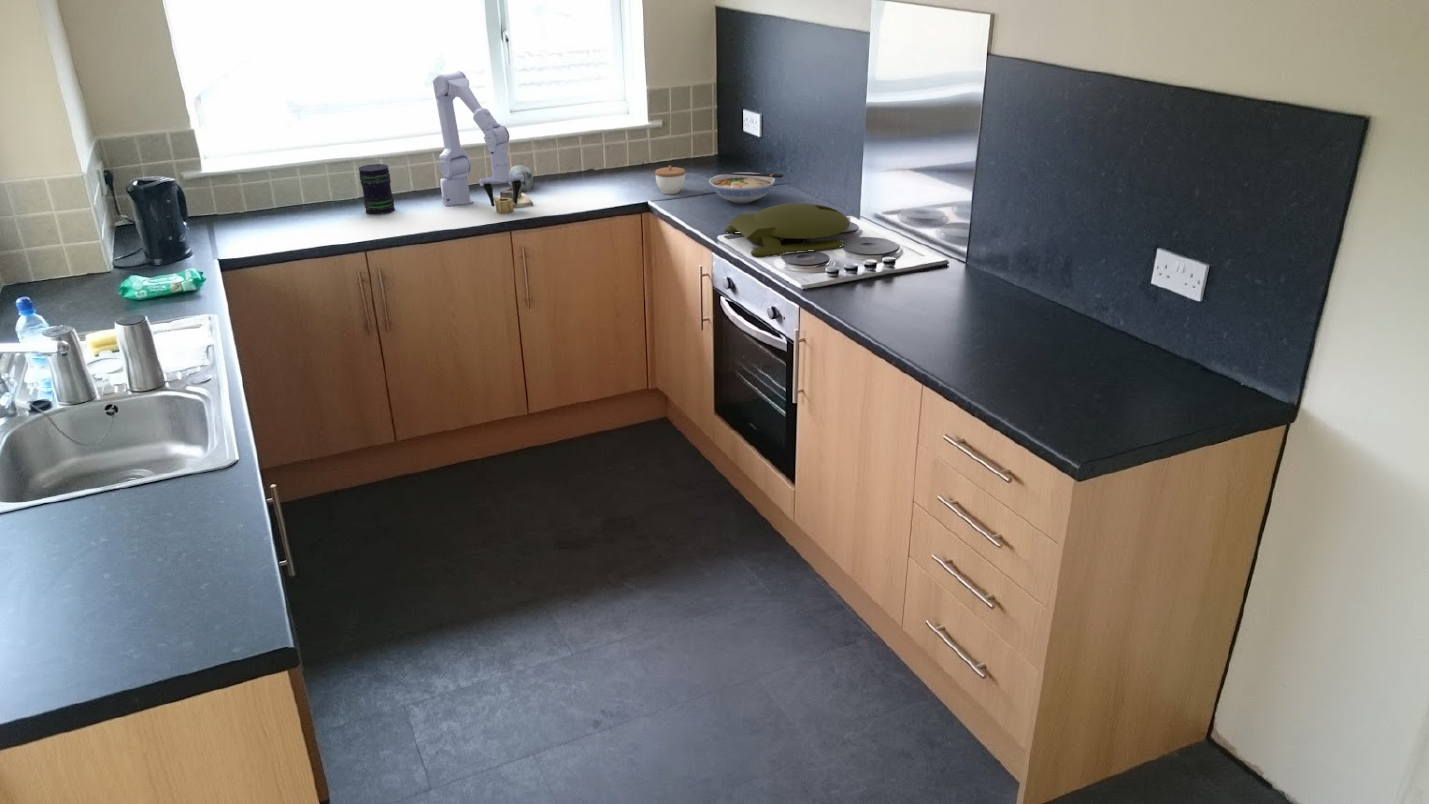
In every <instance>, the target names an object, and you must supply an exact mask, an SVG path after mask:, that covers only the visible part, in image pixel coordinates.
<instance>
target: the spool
mask: <svg viewBox="0 0 1429 804" xmlns="http://www.w3.org/2000/svg"><path fill="white" fill-rule="evenodd" d="M509 173H510V175H523V178H524V181H522V182H521V187H520V189H521V192H528V191H530V190H531V188H532V187H533V183H534V175H533V172H532V170H531V169H530V168H529V167H527V166H526V165H525V166H524V165H521V164H518V165H517V164H516V165H514V166H511V168H509ZM508 185H509V187H512V183H511V182H508Z"/></svg>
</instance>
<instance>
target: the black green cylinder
mask: <svg viewBox="0 0 1429 804" xmlns="http://www.w3.org/2000/svg"><path fill="white" fill-rule="evenodd" d="M358 172H359V180H360V185H361V187H362V192H363V193H362V194H363V196H362V197H363V205H364V209H365V214H367V215H372V216H377V215H379V216H380V215H386V214H390V213H393V212H395V211H396V208H395V204H394V203H395V200H394V194H393V193H392V188H391V187H392V186H391V173H390V170H389V165H387V164H382V163H381V164H380V163H378V164H377V163H375V164H367V165H363V166H359V167H358Z"/></svg>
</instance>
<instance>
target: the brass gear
mask: <svg viewBox="0 0 1429 804" xmlns="http://www.w3.org/2000/svg"><path fill="white" fill-rule="evenodd" d="M494 205H495V210H496V211H495V212H496V213H498V214H504V215H505V214H509V213H513V212H514V208H513V202H512V199H510V198H499V199H496V200H495V201H494Z"/></svg>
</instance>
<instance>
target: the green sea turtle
mask: <svg viewBox="0 0 1429 804" xmlns="http://www.w3.org/2000/svg"><path fill="white" fill-rule="evenodd" d="M728 224H729V225H727V226H725V228H724V232H725V233H726V232H728V233H727V234H729V233H735V232H740V233H739V234H741V235H742V236H743V237H744V238H746V239H747V240H748V241H751V242H752V243H754V244H755V245H756V246H757V245H759V246H761V245H762V247H756V248H753V249H752V250H750V254H751V256H752V257H755V258H766V257H765V256H769V257H774V256H773V255H778V256H781V255H780V254H783V253H786V252H797V251H808V250H814V252H820V251H823V252H824V251H831V250H837V249H836V248H839V247H840V246H842V244H843V243H844V244H845V242H844V241H843V240H841V239H838V238H837V239H835V238H834V239H827V240H818V241H817V240H816V241H809V242H799V243H798V242H797V243H791V244H790V243H789V244H782V243H781V242H782V241H783V240H784V239H796V240H797V239H800V240H801V239H817V238H825V237H830V236H835V235H838V234H840V233H843V232H845V231H847V230H848V228H849V227H850V225H851V224H850V221H849V218H848V217H847V216H846V215H845V214H843V213H842V212H840V211H839V210H837V209H834V208H832V207H830V206H826V205H825V206H824V205H821V204H815V203H809V202H808V203H807V202H806V203H805V202H791V203H782V204H777V205H773V206H769V207H767V208H766V207H765V208H764V209H761V210H759V211H757V212H752V213H750V212H749V213H742V214H741V213H740V214H738V215H737V216H736V217H734V218H733V219H732V220H730V221H729V222H728Z"/></svg>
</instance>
